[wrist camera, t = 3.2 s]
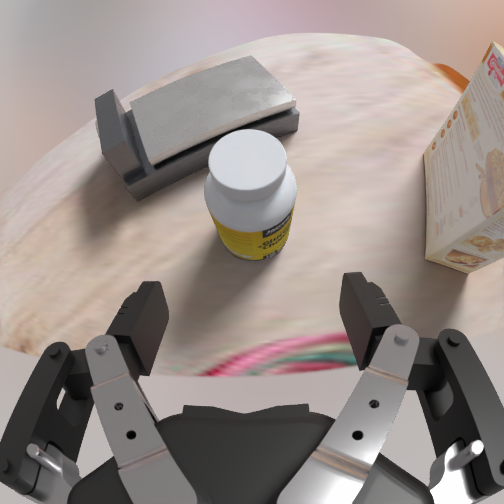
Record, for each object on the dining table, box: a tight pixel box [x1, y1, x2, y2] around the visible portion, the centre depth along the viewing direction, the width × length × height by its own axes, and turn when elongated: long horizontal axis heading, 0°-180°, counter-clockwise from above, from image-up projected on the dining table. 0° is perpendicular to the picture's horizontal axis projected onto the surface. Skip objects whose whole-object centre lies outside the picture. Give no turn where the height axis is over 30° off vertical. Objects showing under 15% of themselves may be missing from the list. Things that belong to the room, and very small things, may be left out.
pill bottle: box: [204, 129, 297, 262], centre depth 21 cm, size 6×6×12 cm
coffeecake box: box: [424, 41, 504, 274], centre depth 17 cm, size 15×7×20 cm, turn 164°
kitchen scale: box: [95, 89, 299, 201], centre depth 27 cm, size 21×12×8 cm, turn 116°
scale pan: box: [130, 56, 296, 166], centre depth 27 cm, size 16×11×1 cm, turn 116°
